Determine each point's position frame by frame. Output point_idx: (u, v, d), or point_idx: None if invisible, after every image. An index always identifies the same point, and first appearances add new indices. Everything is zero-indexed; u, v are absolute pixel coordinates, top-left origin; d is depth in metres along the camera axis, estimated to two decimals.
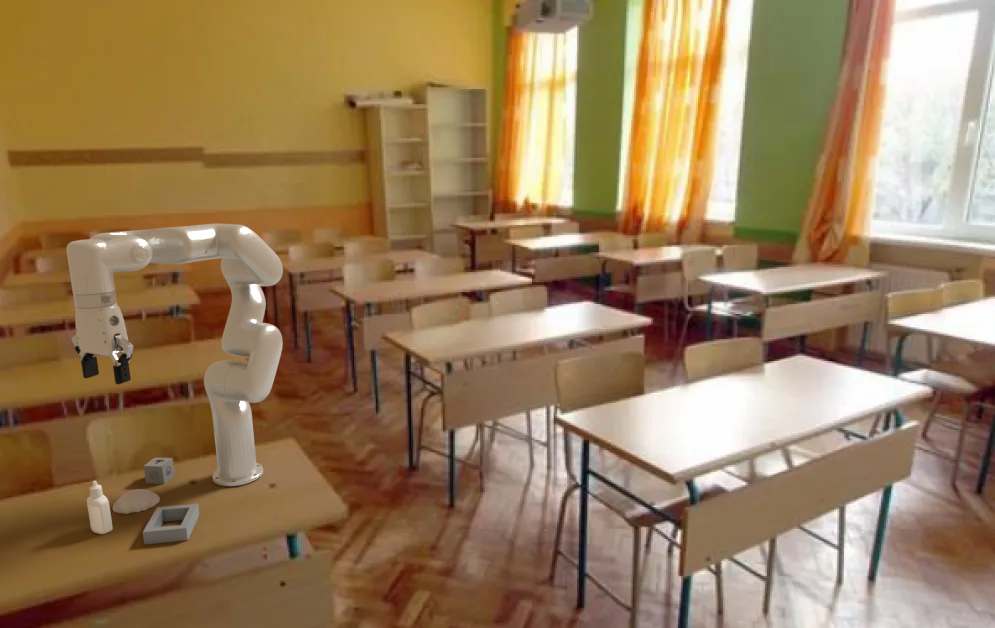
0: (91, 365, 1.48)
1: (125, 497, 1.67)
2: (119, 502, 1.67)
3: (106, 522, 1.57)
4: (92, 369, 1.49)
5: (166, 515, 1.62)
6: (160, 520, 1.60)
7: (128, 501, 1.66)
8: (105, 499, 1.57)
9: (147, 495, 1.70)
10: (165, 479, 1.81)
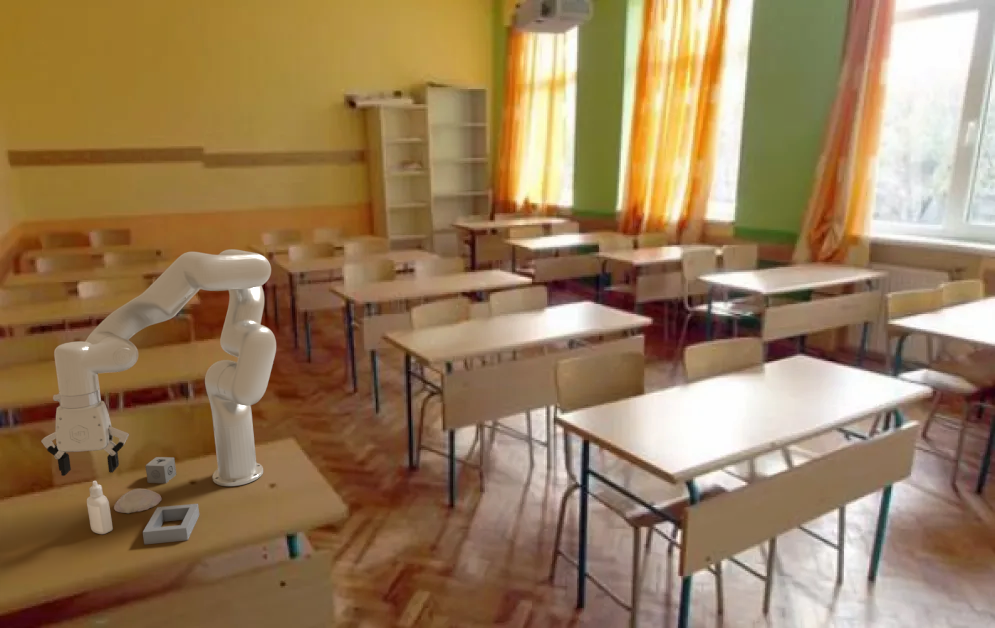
0: None
1: (127, 496, 1.67)
2: (121, 501, 1.67)
3: (106, 522, 1.57)
4: None
5: (166, 515, 1.62)
6: (160, 520, 1.60)
7: (130, 500, 1.66)
8: (105, 499, 1.57)
9: (149, 494, 1.70)
10: (167, 478, 1.81)
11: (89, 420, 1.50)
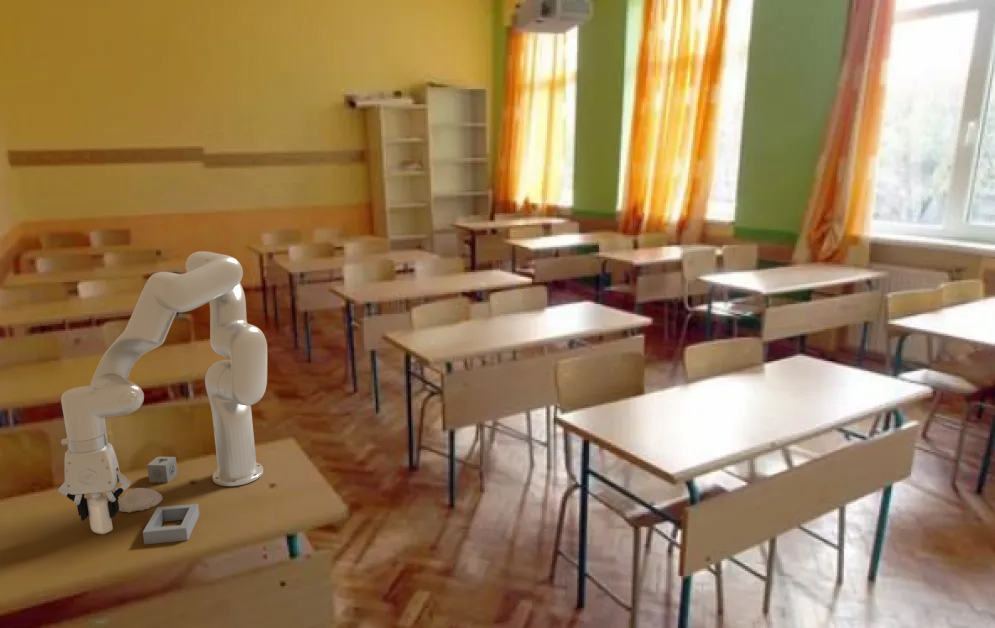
0: None
1: (128, 496, 1.67)
2: (122, 501, 1.67)
3: (106, 522, 1.57)
4: None
5: (166, 515, 1.62)
6: (160, 520, 1.60)
7: (131, 500, 1.67)
8: (105, 499, 1.57)
9: (150, 494, 1.70)
10: (168, 478, 1.82)
11: (97, 463, 1.53)
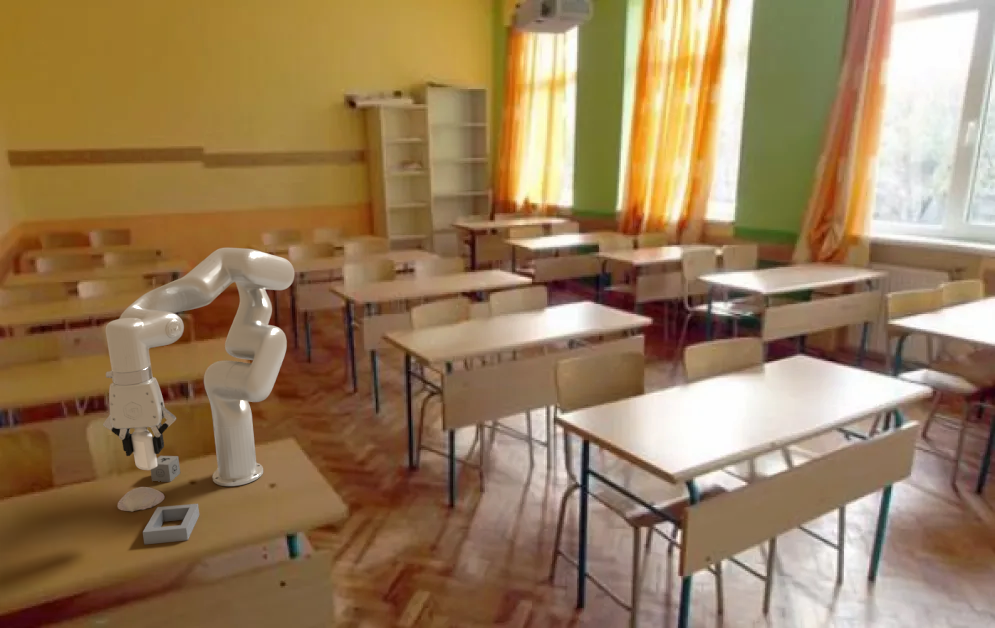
0: None
1: (130, 495, 1.68)
2: (124, 500, 1.68)
3: (151, 458, 1.54)
4: None
5: (166, 515, 1.62)
6: (160, 520, 1.60)
7: (133, 499, 1.67)
8: (150, 434, 1.53)
9: (152, 493, 1.71)
10: (171, 477, 1.82)
11: (142, 397, 1.49)
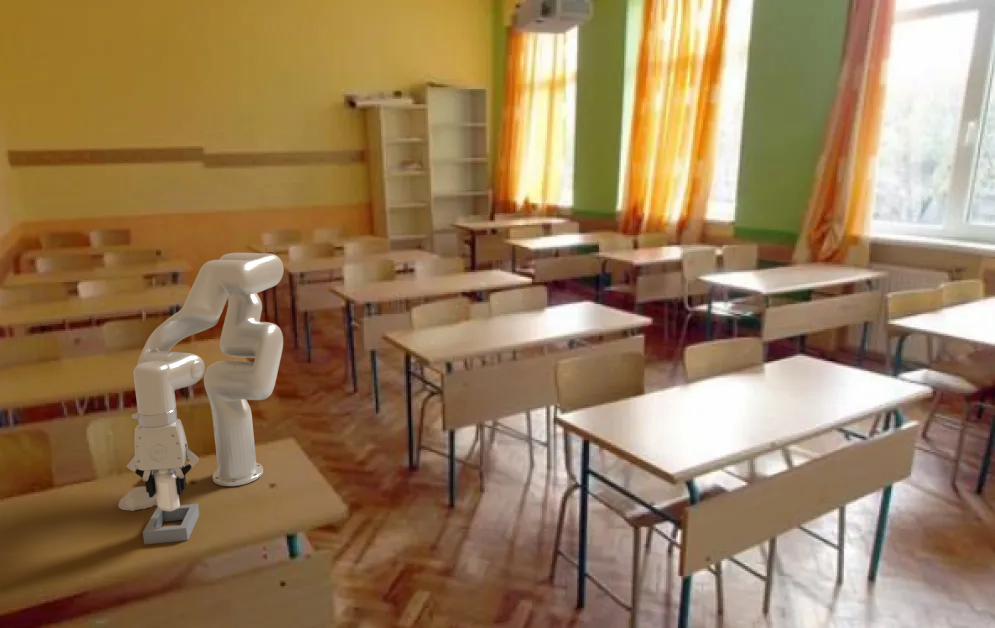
0: None
1: (131, 494, 1.68)
2: (125, 499, 1.68)
3: (174, 499, 1.55)
4: None
5: (166, 515, 1.62)
6: (160, 520, 1.60)
7: (134, 498, 1.67)
8: (173, 476, 1.55)
9: None
10: None
11: (167, 439, 1.51)
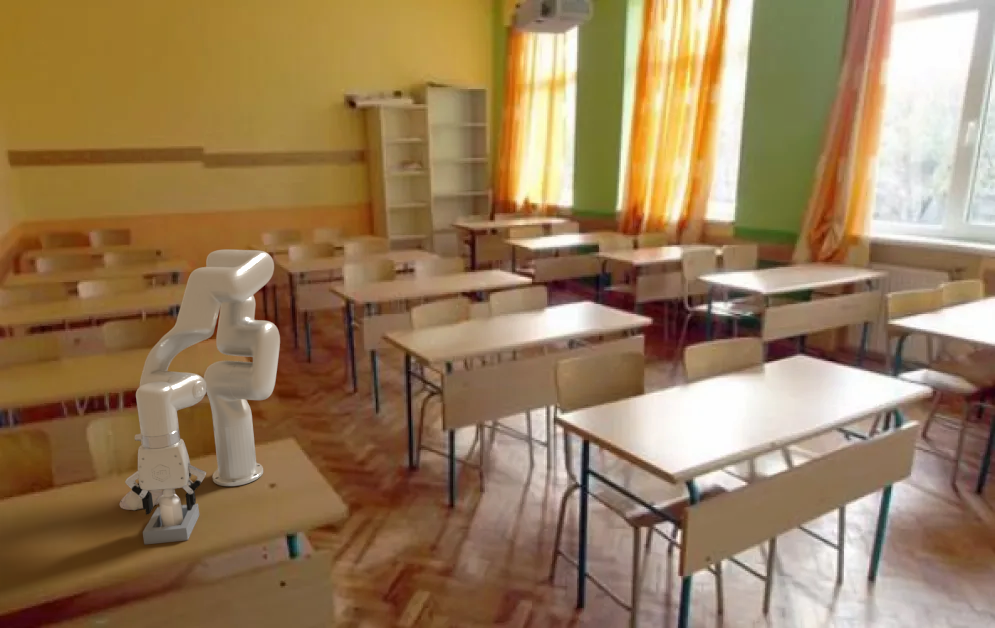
0: None
1: (132, 494, 1.68)
2: (127, 499, 1.68)
3: (178, 521, 1.57)
4: None
5: None
6: (160, 520, 1.60)
7: (136, 498, 1.68)
8: (178, 499, 1.57)
9: (154, 491, 1.71)
10: None
11: (170, 459, 1.53)
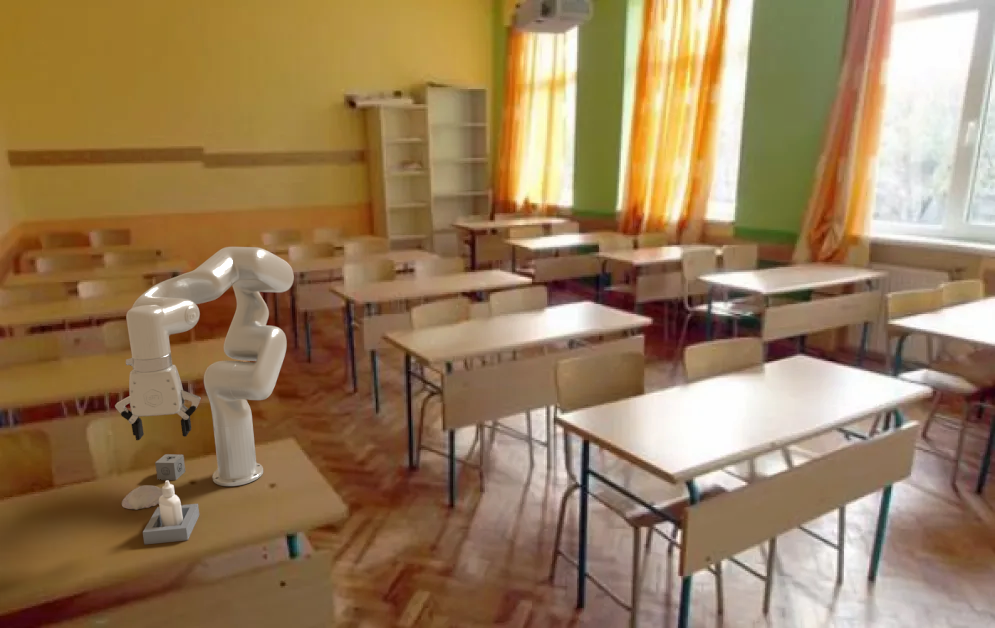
0: None
1: (135, 493, 1.69)
2: (129, 498, 1.68)
3: (178, 521, 1.57)
4: None
5: None
6: (160, 520, 1.60)
7: (138, 497, 1.68)
8: (177, 499, 1.57)
9: (156, 491, 1.72)
10: (177, 475, 1.83)
11: (163, 384, 1.49)
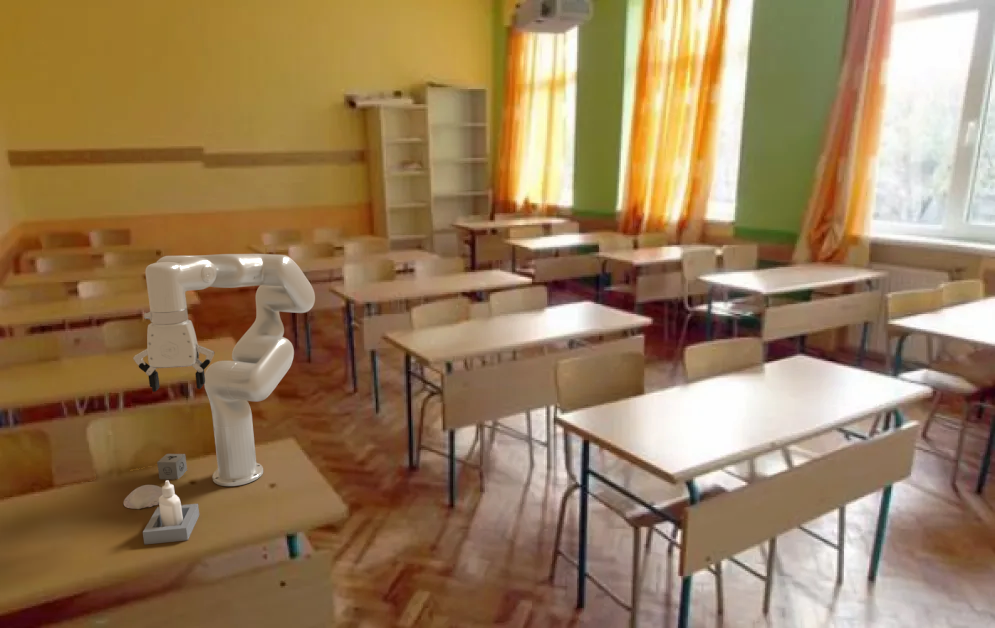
0: None
1: (137, 492, 1.69)
2: (131, 498, 1.69)
3: (178, 521, 1.57)
4: None
5: None
6: (160, 520, 1.60)
7: (140, 496, 1.68)
8: (177, 499, 1.57)
9: (158, 490, 1.72)
10: (178, 475, 1.83)
11: (179, 337, 1.57)
